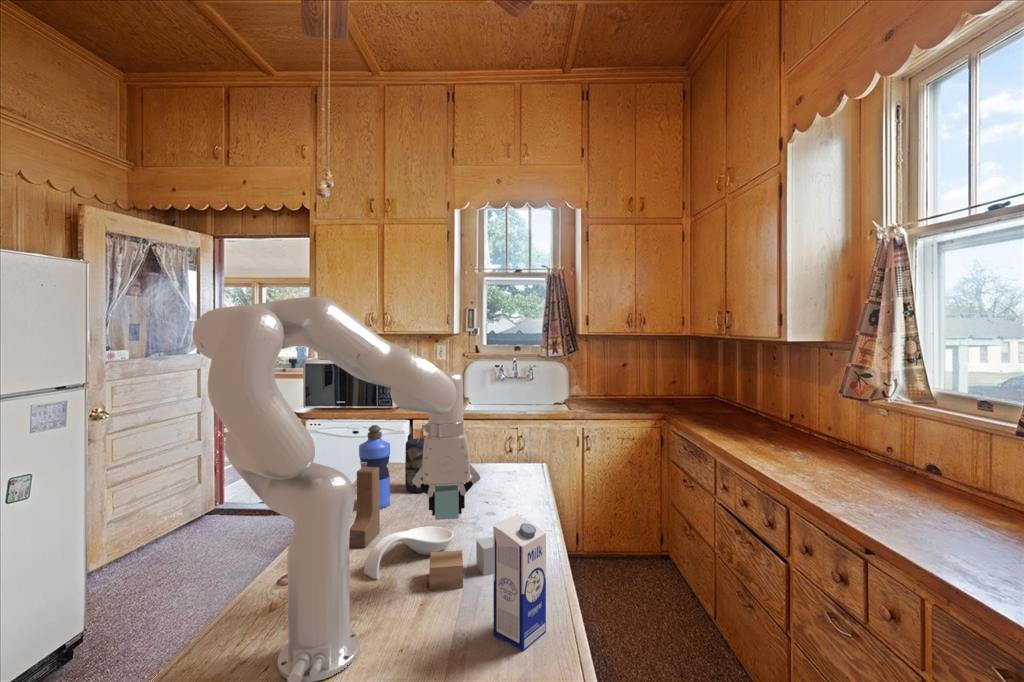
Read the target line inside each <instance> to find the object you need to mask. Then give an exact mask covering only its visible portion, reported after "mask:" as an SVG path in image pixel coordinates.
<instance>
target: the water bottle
mask: <svg viewBox="0 0 1024 682" xmlns="http://www.w3.org/2000/svg"><path fill="white" fill-rule="evenodd" d="M381 430H382V428H381V427H380V426H379V425H378V424H373V425H371V426H369V428H368V429H367V431H368V432H367V440H366V441H364V442H362V443H360V444H359V445H358V456H359V461H360V462H359V463H360V469H361V468H363V467H379V509H381V510H384V509H386V508H388V507H389V506H390V505H391V482H390V481H391V479H390V478H391V477H390V471H389V465H390V464H389V463H390V455H391V443H390V442H388V441H387V440H383V438H382V436H383V435H382V431H381ZM387 506H388V507H387ZM383 508H384V509H383Z"/></svg>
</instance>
